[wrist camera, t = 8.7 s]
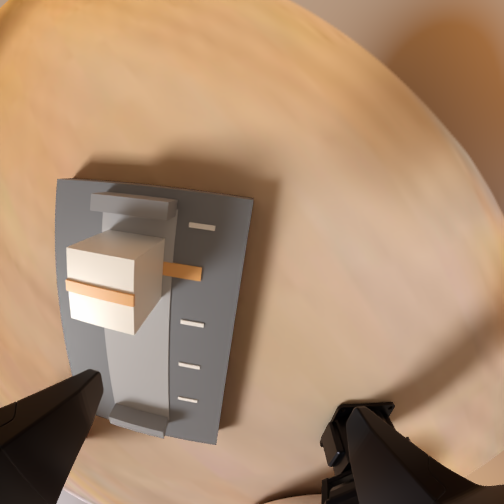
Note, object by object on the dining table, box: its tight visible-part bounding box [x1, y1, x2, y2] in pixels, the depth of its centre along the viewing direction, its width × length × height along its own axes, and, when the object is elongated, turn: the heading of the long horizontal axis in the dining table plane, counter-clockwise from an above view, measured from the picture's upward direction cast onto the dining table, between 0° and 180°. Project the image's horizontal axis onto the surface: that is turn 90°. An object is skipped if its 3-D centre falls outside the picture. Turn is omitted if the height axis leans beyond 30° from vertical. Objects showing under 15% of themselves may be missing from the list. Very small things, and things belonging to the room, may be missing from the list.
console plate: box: [55, 178, 254, 445], centre depth 19 cm, size 14×22×4 cm, turn 171°
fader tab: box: [65, 230, 165, 335], centre depth 15 cm, size 4×4×5 cm
